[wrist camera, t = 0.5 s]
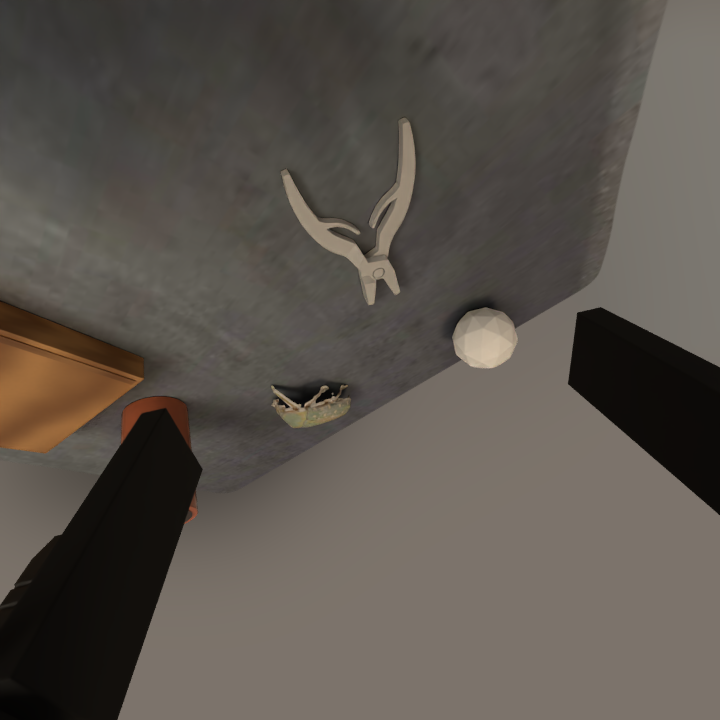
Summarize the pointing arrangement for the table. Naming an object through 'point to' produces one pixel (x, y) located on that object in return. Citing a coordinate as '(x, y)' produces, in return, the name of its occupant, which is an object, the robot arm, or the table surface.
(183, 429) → the pen cup
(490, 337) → the geometric ball
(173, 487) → the robot arm
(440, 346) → the table surface
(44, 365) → the oak board
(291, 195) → the pliers
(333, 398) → the decorative insect model
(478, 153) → the table surface
